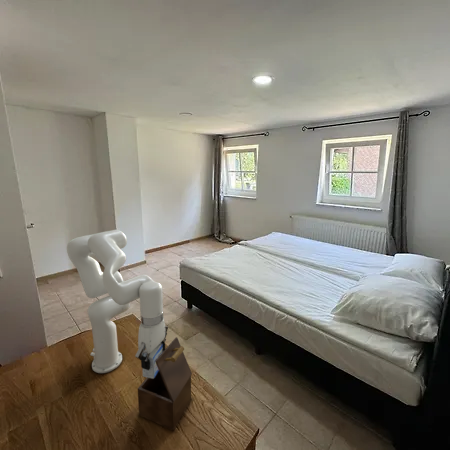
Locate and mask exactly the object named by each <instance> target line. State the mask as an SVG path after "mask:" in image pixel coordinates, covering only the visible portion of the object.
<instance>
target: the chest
mask: <svg viewBox="0 0 450 450" xmlns="http://www.w3.org/2000/svg"><path fill="white" fill-rule="evenodd" d="M191 400H192V375H191V376H190V377H189V379H188V381H187V382H186V384H185V385H184V387H183V389H182V390H181V392H180V393H179V395H178V396H177V398H176V400H175V401H174V402H172V401H171V398H170V396H169V394H168V391H167V389H166V386H165V384H164V381H163V379H162V377H161V374H160V372H159V371H158V373H157V374H156V376H155V378H154V379H152V378H147V377H145V379H144V380H143V381H142V383H141V384H140V385H139V386H138V387H137V401H138V416H140V417H142V418H145V419H147V420H149V421H151V422H154V423H156V424H158V425H159V426H162V427H164V428H167V429H168V430H171V431H175V429H176V427H177V425H178V424H179V422H180V420H181V418H182V416H183V414H184V413H185V411H186V410H187V408H188V406H189V405H190V402H191Z"/></svg>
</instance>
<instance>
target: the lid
mask: <svg viewBox="0 0 450 450" xmlns="http://www.w3.org/2000/svg"><path fill="white" fill-rule="evenodd" d="M184 351H185V347H184V346H183V345H181V343H180V341H179V338H178V337H176V336H175V337H174V339H172V341H171V342H170V343H169V344H168V346H166V347H165V350H164V351H163V353H162V354H161V355H160V356H159V357H158V358H157V359H156V361H155V362H156V364H157V367H158V369H159V372H160V374H161V377H162V379H163V381H164V384H165V386H166V389H167V391H168V394H169V396H170V398H171V401H172V402H174V401H175V400H176V398H177V396H178V395H179V393H180V392H181V390H182V389H183V387H184V385H185V384H186V382H187V381H188V379H189V377H190V376H191V377H192V375H193V373H192V370H191V368H190V366H189V362H188V360H187V358H186V356H185V353H184Z"/></svg>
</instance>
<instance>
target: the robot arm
mask: <svg viewBox="0 0 450 450" xmlns="http://www.w3.org/2000/svg"><path fill="white" fill-rule="evenodd" d="M127 243H128V238H127V235H125V233H124V232H123V231H121V230H119V229H112V230H106V231H102V232H97V233H93V234H85V235H82V236H78V237H75V238H73V239H71V240H69V241H68V242H67V244H66V252H67V256H68V258H69V260H70V261H71V263H72V264H73V266H74V267H75V268H76V270H77V273H78V277H79V279H80V282H81V285H82V288H83V291H84V293H85V295H86V297H87V298H88V299H96V298H98V297H99V298H100V297H102V296H103V295H106V294H108V295H107V296H104V297H102V298H100V299H98V300H95V301H94V302H92V303H91V304H90V305H89V306H88V308H87V311H86V312H87V316H88V319H89V323H90V326H91V332H92V342H93V348H92V352H90V354H89V355H90V356H91V357H93V360H92V362H91V369H92V371H94V372H95V373H98V374H106V373H110V372H112V371H114V370H115V369H117V368H118V367H119V366H120V365H121V363H122V361H123V355H122V353H121V352H120V351H119V345H118V333H117V332H118V331H117V325H116V323H115V322H114V321H112V319H113V318H115V317H117V316H119V315H121V314H124V312H126V311H128V310H129V309H130V307H131V303H132V302H135V301H136V300H139V308H140V309H139V310H140V324H139V328H138V336H137V348H138V349H137V351H136V353H135V358H136V359H137V360H139V361H140V367H141V369H142V368H143V369H146V370H149V369H150V360H149V359H148V358H149V355H150V353H151V352H152V351H153V350H154V349H155V348H156V347H157V346H158V345H159V344H160V343H161V344H163V351H164V350H165V349H166V341H167V336H168V330H169V326H168V325H166V323H165V322H166V321H165V317H164V299H163V295H164V294H163V286H162V284H161V283H160V282H158V281H154V279H153V278H151V276H149V275H148V274H139V275H137V276H134V277H132V278H129V279H127V280H124V278H123V276H122V274H121V273H120V272H119V270H120V269H121V268H122V267H123V266H124V264H125V263H126V262H127V255H126V254H125V252H124V251H122V249H124V248H125V247H126V246H127ZM91 255H94V257H95V258H96V259H97V260H98V261H97V260H96V259H95V258H93V257H91ZM100 264H101V265H102V266H103V267H104V269H103V271H102V269H101V266H100ZM145 352H146V353H147V354H146V357H144V353H145Z"/></svg>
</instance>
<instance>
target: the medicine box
mask: <svg viewBox="0 0 450 450" xmlns="http://www.w3.org/2000/svg"><path fill="white" fill-rule="evenodd" d="M162 353H163V344H161V343H160V344H159V345H158V346H157V347H156V348H155V349H154V350H153V351H152V352H151V353H150V355H149V358H148V359H149V360H150V369H149V370H146V369H143V368H142V367H141V370H142V377H144V378H152V379H154V378H155V376H156V374H157V373H158V371H159V369H158V367H157V364H156V362H155V361H156V359H157V358H158V357H159V356H160V355H161V354H162ZM146 354H147V353H146V352H145V353H144V357H146Z"/></svg>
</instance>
